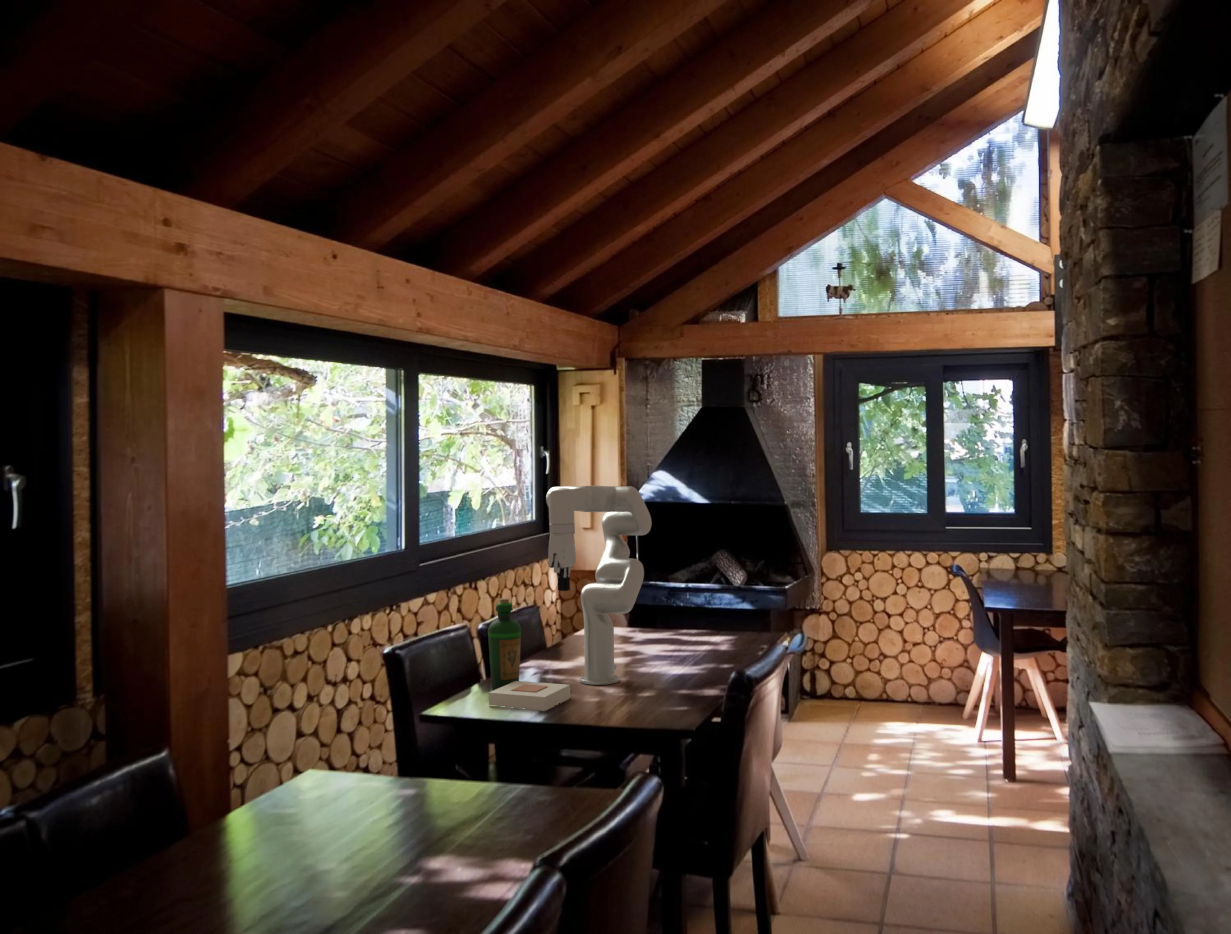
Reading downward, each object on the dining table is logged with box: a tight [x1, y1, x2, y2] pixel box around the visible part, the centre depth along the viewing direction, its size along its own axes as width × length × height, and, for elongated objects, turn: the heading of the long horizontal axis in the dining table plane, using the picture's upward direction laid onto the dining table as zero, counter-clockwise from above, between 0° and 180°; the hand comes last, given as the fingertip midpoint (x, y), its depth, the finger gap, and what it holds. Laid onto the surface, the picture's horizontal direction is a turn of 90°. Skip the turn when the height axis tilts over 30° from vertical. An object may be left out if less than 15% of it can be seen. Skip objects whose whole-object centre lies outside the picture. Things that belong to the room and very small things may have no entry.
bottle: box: [487, 597, 522, 690], centre depth 319 cm, size 11×11×28 cm
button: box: [512, 684, 547, 693], centre depth 300 cm, size 8×8×4 cm
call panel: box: [488, 680, 571, 712], centre depth 300 cm, size 17×18×4 cm
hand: (563, 590), depth 307 cm, fingers closed
